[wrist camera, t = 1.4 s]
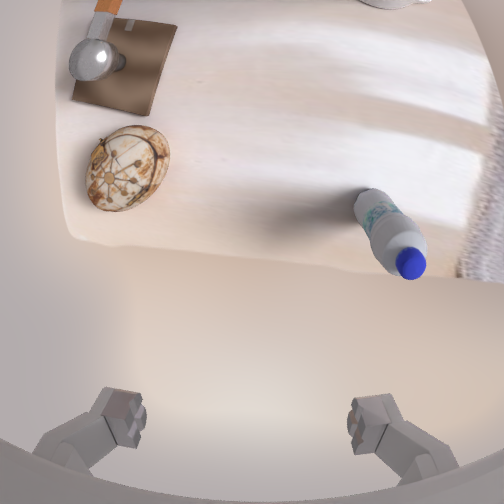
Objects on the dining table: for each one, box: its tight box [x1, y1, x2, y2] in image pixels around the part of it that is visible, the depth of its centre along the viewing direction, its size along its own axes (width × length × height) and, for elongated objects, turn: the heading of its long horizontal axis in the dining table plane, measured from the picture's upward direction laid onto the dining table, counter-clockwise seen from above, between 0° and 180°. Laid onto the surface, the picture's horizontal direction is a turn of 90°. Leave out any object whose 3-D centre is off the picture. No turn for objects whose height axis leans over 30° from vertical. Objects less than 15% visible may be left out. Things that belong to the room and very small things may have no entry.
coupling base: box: [72, 18, 177, 116], centre depth 36 cm, size 15×15×6 cm
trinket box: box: [86, 125, 170, 212], centre depth 44 cm, size 13×15×8 cm
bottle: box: [354, 188, 427, 280], centre depth 38 cm, size 7×7×20 cm
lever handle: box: [69, 0, 122, 81], centre depth 30 cm, size 13×6×4 cm, turn 161°
